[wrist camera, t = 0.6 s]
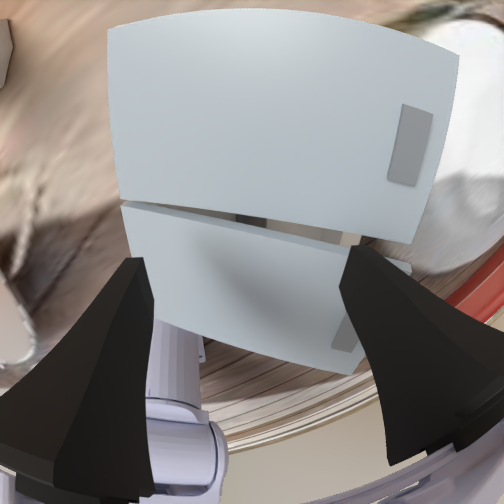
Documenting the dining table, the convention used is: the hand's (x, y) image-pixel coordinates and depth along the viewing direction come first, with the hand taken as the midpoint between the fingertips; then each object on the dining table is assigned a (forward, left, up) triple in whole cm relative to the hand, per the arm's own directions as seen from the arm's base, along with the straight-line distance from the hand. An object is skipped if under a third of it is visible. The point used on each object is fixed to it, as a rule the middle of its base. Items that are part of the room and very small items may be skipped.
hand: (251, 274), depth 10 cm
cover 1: (+5, -1, -4) cm, 6 cm away
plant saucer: (-17, -40, -11) cm, 45 cm away
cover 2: (-4, -1, -3) cm, 5 cm away
